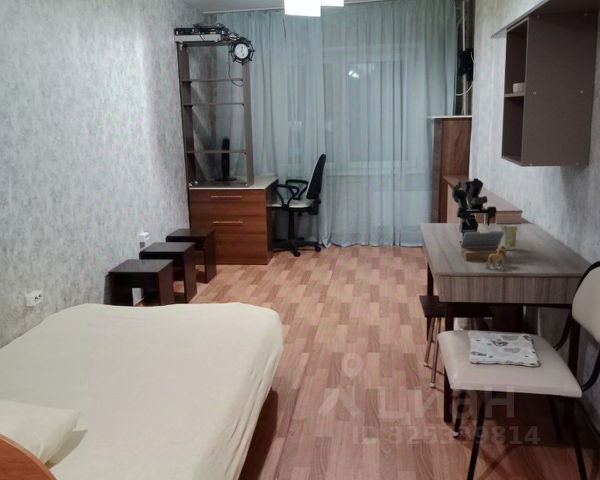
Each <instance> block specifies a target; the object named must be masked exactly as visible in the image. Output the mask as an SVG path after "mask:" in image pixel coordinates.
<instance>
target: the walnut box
mask: <svg viewBox="0 0 600 480" xmlns="http://www.w3.org/2000/svg"><path fill="white" fill-rule="evenodd" d="M498 247H499V246H498ZM498 247H461V246H460V256H461V257H462V258H463V259H464V260H465V261H466V262H488V257H489V255H490V254H497V249H498ZM500 261H501V260H500ZM500 261H499V262H500ZM505 261H506V258H505V259H504V262H505ZM491 262H492V260H491ZM501 262H502V261H501Z"/></svg>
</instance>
